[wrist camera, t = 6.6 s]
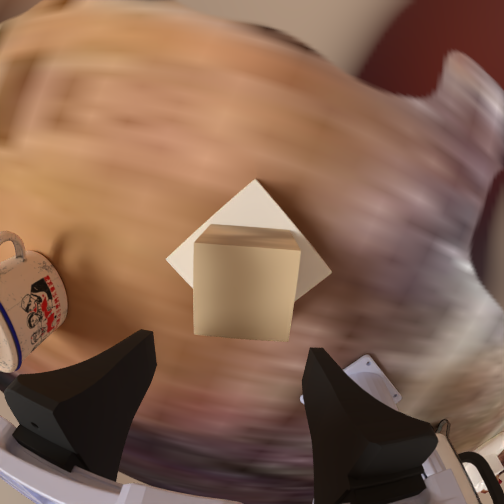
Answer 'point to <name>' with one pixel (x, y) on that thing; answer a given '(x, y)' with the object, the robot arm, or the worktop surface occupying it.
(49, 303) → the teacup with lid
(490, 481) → the coffee press
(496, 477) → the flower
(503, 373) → the worktop surface
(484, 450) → the dish
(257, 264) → the brass cube
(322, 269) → the ceramic plinth
